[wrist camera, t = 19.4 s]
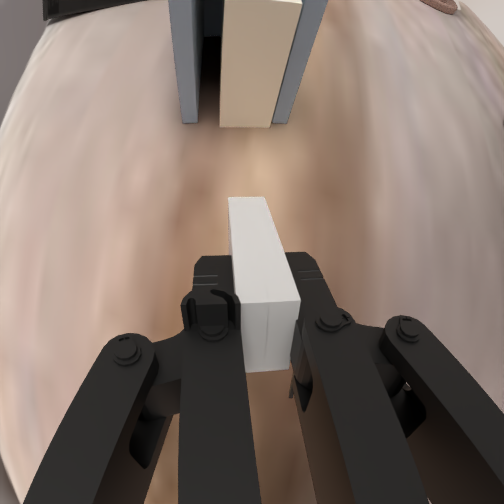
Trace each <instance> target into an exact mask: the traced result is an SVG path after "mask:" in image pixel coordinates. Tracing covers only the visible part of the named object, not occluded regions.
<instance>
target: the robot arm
mask: <svg viewBox="0 0 504 504" xmlns="http://www.w3.org/2000/svg"><path fill="white" fill-rule="evenodd" d="M228 224H229V255H222V256H201V258H200V259H199V260H198V261H197V263H196V264H195V267H194V277H193V287H192V291H190V292H189V293H188V294H187V295H186V296H185V297H184V298H183V300H182V303H181V305H180V306H181V312H182V318H183V324H184V330H182V331H181V332H180V333H179V334H177V335H176V336H174V337H171V338H169V339H166V340H162V341H158V342H154V343H152V342H151V341H150V340H149V339H148V338H147V337H145V336H142V335H140V334H134V333H127V334H122V335H118V336H116V337H115V338H113V339H111V340H110V341H109V342H108V343H107V344H106V345H105V346H104V347H103V349H102V350H101V352H100V354H99V355H98V357H97V359H96V361H95V362H94V364H93V366H92V367H91V369H90V371H89V373H88V374H87V376H86V378H85V379H84V381H83V383H82V385H81V387H80V388H79V390H78V392H77V394H76V396H75V397H74V399H73V401H72V403H71V405H70V406H69V408H68V410H67V412H66V414H65V416H64V418H63V420H62V422H61V423H60V425H59V427H58V429H57V431H56V433H55V435H54V437H53V439H52V441H51V443H50V445H49V447H48V449H47V451H46V453H45V455H44V458H43V460H42V462H41V464H40V466H39V468H38V470H37V472H36V475H35V477H34V479H33V481H32V484H31V486H30V488H29V491H28V493H27V495H26V498H25V500H24V502H23V504H144V501H145V498H146V495H147V492H148V489H149V486H150V483H151V480H152V476H153V473H154V470H155V467H156V464H157V461H158V458H159V455H160V452H161V450H162V447H163V444H164V441H165V438H166V435H167V432H168V429H169V426H170V423H171V420H172V417H173V415H174V414H178V413H180V418H179V455H178V504H261V496H260V489H259V481H258V473H257V466H256V458H255V450H254V442H253V433H252V425H251V417H250V408H249V399H248V391H247V382H246V373H249V372H264V371H277V370H288V369H289V365H290V360H291V363H292V367H293V371H294V372H293V377H292V381H291V386H290V390H289V398H293V394H294V396H295V401H296V406H297V410H298V415H299V419H300V424H301V429H302V433H303V438H304V443H305V447H306V452H307V457H308V461H309V466H310V471H311V476H312V480H313V485H314V490H315V495H316V499H317V504H429V501H428V499H429V500H430V502H431V503H432V504H504V414H503V413H502V411H501V410H500V409H499V408H498V406H497V405H496V404H495V403H494V402H493V400H492V399H491V398H490V397H489V396H488V394H487V393H486V392H485V391H484V390H483V389H482V387H481V386H480V385H479V384H478V383H477V382H476V380H475V379H474V378H473V377H472V376H471V375H470V374H469V373H468V371H467V370H466V369H465V368H464V367H463V366H462V365H461V364H460V362H459V361H458V360H457V359H456V358H455V357H454V356H453V355H452V354H451V353H450V352H449V350H448V349H447V348H446V347H445V346H444V345H443V344H442V343H441V342H440V341H439V340H438V339H437V338H436V337H435V336H434V335H433V333H432V332H431V331H430V330H429V329H428V328H427V327H426V326H425V325H424V324H422V323H421V322H420V321H418V320H417V319H414V318H412V317H410V316H402V315H400V316H395V317H392V318H391V319H389V320H388V321H387V323H386V326H385V328H380V327H372V326H365V325H360V324H357V323H355V320H354V319H353V318H352V316H351V315H350V314H349V313H348V312H346V311H344V310H343V309H341V308H338V307H337V305H336V303H335V301H334V299H333V297H332V295H331V292H330V290H329V288H328V286H327V284H326V282H325V280H324V279H323V275H322V273H321V271H320V269H319V267H318V265H317V263H316V261H315V259H313V258H312V257H311V256H310V255H309V254H307V253H306V252H285V253H284V250H283V247H282V244H281V242H280V239H279V236H278V233H277V230H276V228H275V225H274V222H273V219H272V216H271V214H270V211H269V208H268V206H267V203H266V200H265V197H228ZM406 382H407V383H408V385H409V386H410V387H409V386H408V385H407V384H406ZM427 497H428V498H427Z"/></svg>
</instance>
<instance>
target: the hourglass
mask: <svg viewBox="0 0 504 504" xmlns="http://www.w3.org/2000/svg"><path fill="white" fill-rule="evenodd" d="M420 1H422V2H424V3H426V4H428V5H429V6H431V7H433V8H435V9H437V10H439V11H442V12H444V13H447V14H453V13H454V12H455V11H456V10H457V5H456V3H455V2H454V1H453V0H420Z"/></svg>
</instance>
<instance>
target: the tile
mask: <svg viewBox="0 0 504 504" xmlns="http://www.w3.org/2000/svg"><path fill="white" fill-rule="evenodd" d="M301 8H302V1H301V0H223V4H222V23H221V51H220V127H256V128H270V125H271V121H272V117H273V113H274V109H275V106H276V102H277V98H278V94H279V90H280V86H281V83H282V79H283V75H284V71H285V67H286V64H287V60H288V56H289V52H290V49H291V45H292V41H293V38H294V34H295V30H296V26H297V23H298V19H299V15H300V12H301Z"/></svg>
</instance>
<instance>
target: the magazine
mask: <svg viewBox="0 0 504 504" xmlns="http://www.w3.org/2000/svg"><path fill="white" fill-rule="evenodd" d="M140 1H145V0H43V20H44V21H46V20H48V19H51V18H55V17H60V16H64V15H69V14H74V13H79V12H85V11H91V10H96V9H102V8H108V7H113V6H118V5H123V4H128V3H134V2H140Z"/></svg>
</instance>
